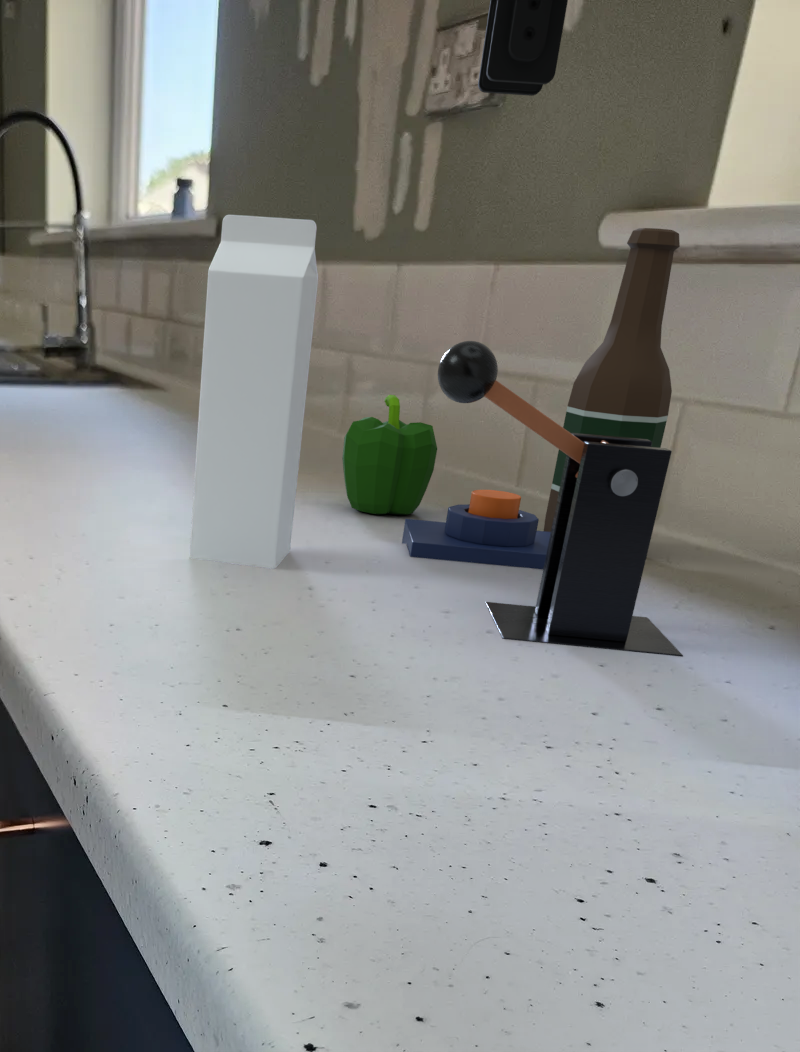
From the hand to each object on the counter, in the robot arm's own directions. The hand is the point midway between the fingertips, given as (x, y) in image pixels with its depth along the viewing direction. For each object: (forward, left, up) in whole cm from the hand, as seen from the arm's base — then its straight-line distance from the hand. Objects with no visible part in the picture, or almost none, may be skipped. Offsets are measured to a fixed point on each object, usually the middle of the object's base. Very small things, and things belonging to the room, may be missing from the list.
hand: (514, 83), depth 56 cm
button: (-6, -20, -25) cm, 32 cm away
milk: (+12, -11, -28) cm, 33 cm away
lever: (-4, 0, -17) cm, 18 cm away
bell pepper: (+1, -39, -28) cm, 48 cm away
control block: (-6, -20, -28) cm, 35 cm away
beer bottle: (-16, -31, -28) cm, 45 cm away
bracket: (-9, 0, -28) cm, 30 cm away
